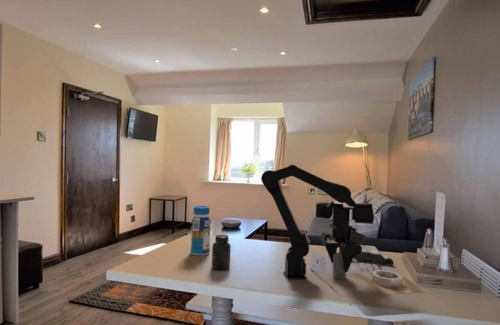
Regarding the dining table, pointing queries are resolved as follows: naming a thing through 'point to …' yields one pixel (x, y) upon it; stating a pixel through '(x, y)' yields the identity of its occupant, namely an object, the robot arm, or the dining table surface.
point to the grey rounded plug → (338, 268)
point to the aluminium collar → (387, 278)
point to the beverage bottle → (200, 231)
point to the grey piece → (372, 256)
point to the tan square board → (382, 290)
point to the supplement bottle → (221, 253)
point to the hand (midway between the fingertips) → (339, 267)
